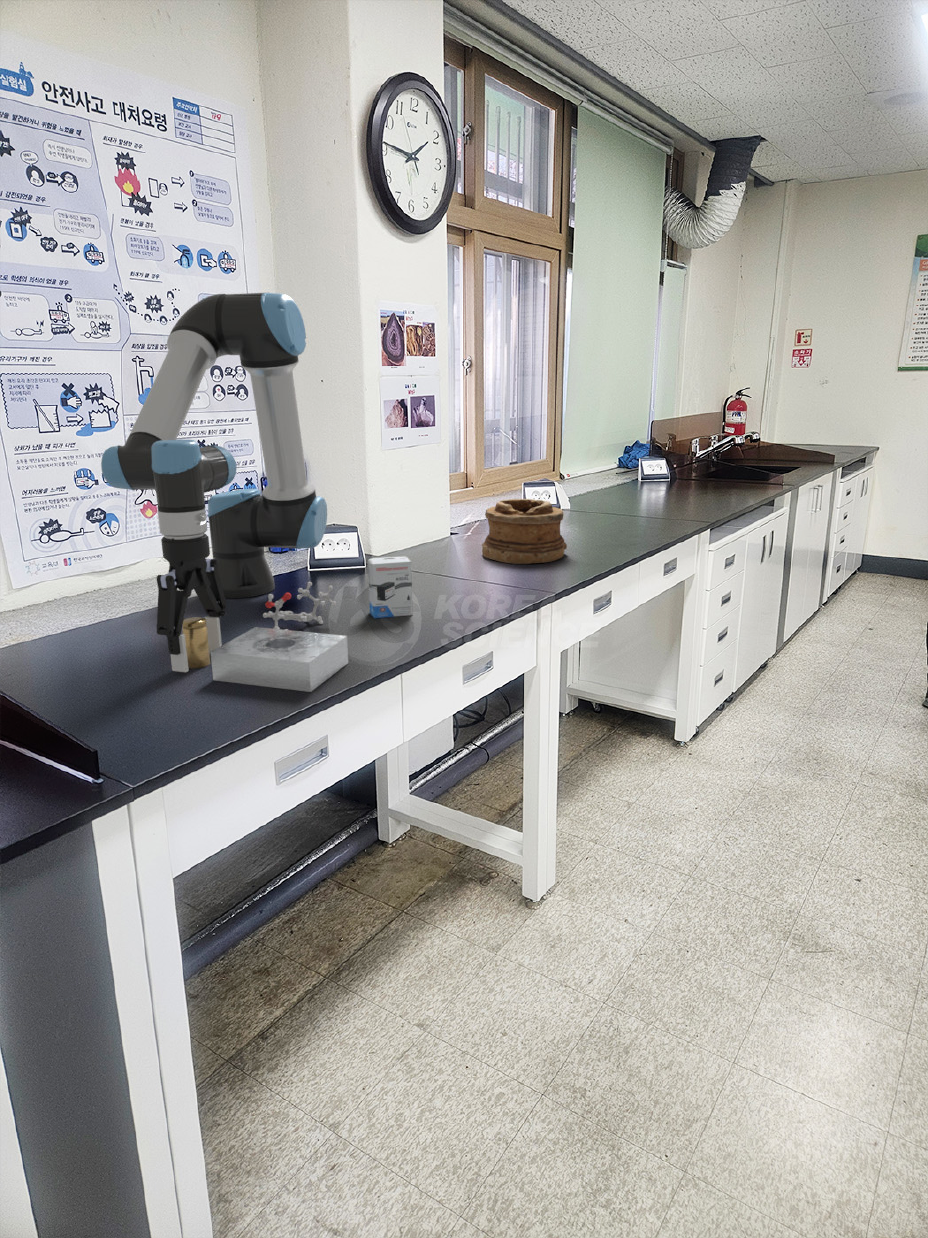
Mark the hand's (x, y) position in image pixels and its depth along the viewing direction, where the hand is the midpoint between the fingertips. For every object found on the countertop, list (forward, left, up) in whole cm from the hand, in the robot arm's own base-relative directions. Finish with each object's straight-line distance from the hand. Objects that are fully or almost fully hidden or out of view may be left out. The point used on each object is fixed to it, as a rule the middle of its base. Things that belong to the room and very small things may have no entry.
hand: (198, 660), depth 141 cm
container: (+35, +101, -1) cm, 107 cm away
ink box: (+21, +38, -1) cm, 43 cm away
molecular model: (+7, +22, -1) cm, 23 cm away
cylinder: (0, 0, -1) cm, 1 cm away
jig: (+16, +1, -1) cm, 16 cm away
